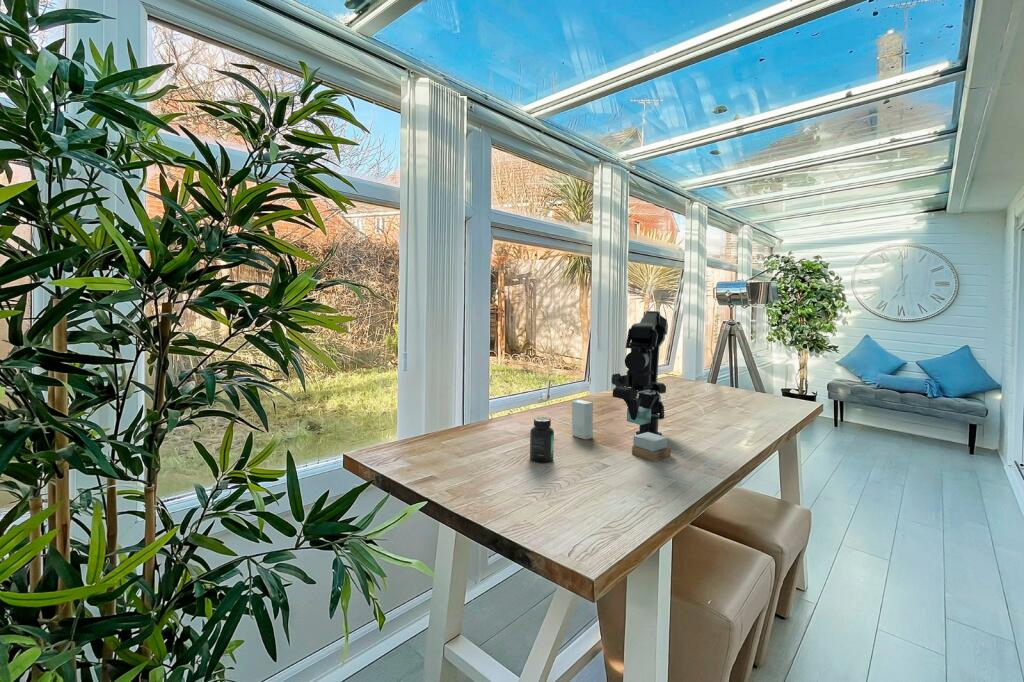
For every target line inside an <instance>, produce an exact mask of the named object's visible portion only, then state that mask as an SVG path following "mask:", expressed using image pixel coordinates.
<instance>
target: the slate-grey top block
mask: <svg viewBox="0 0 1024 682" xmlns="http://www.w3.org/2000/svg"><path fill="white" fill-rule="evenodd" d="M632 441H633V443H632V446H636V447H640V448H643V449H646V450H649V451H652V452H654V451H657V450H660V449H663V448H666V447H668V436H663V435H657V434H653V433H650V432H646V433H642V434H636V435H633V440H632Z"/></svg>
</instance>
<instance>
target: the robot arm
mask: <svg viewBox="0 0 1024 682" xmlns="http://www.w3.org/2000/svg"><path fill="white" fill-rule="evenodd" d="M667 334H668V321H667V319H666V318H665V317H664V316H662V315H661V312H660V311H657V310H656V311H655V310H646V311H644V312H643V316H642V318H641V319H640V321H639V322H637V323H633V324H632V325H631V326H630V328H629V329H628V331H627V338H626V343H625V349H630V351H629V353H628V354H627V355H626V356H625V358H624V365H625V367H626V368H627V371H626V374H623V375H621V374H620V373H614V374H612V375H611V384H612V385H613V386H615V387H614V388H613V389H612V398H617V399H620V400H623V401H624V403H625V404H626V406H627V408H628V410H629V413H630V416H631V419H632V420H635V419H636V416H637V413H638V409H639V407H644V408H648V409H651V422H650V423H646V424H643V425H639V427H638V428H639V430H638V431H635V434H636V435H638V434H642V433H646V432H650V433H653V434H657V435H661V436H663V435H662V432H659V420H663V419H665V406H664V404H663V401H662V396H661V395H662V394H666V393H667V386H666V384H665V383H664V382H659V381H658V375H659V362H660V361H659V360H660V347H661V346H662V344H663V343H664V341H665V340H666V335H667Z"/></svg>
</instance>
